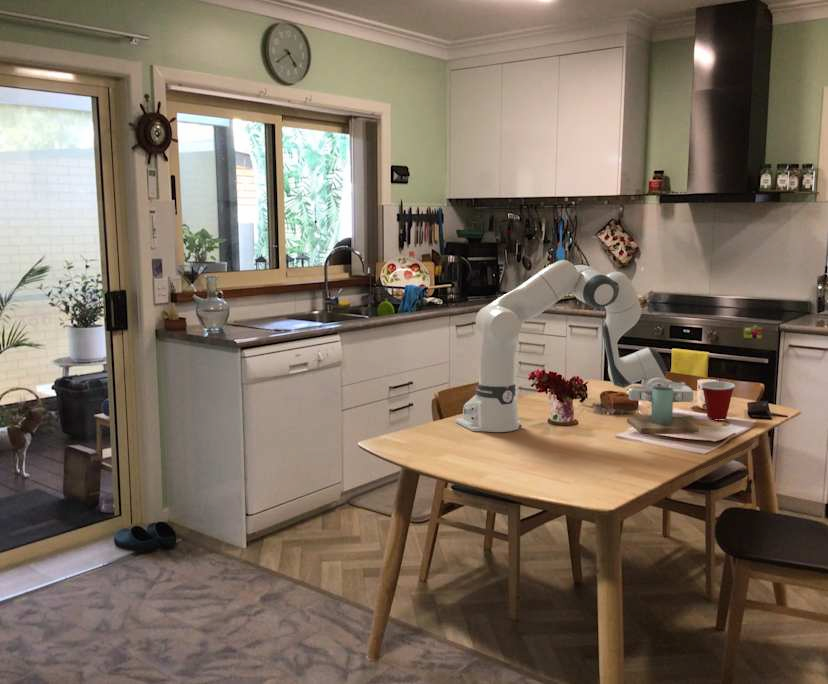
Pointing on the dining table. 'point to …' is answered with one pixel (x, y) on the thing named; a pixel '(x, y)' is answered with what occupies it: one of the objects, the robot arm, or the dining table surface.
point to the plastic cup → (717, 398)
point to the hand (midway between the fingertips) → (662, 398)
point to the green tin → (662, 405)
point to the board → (648, 427)
